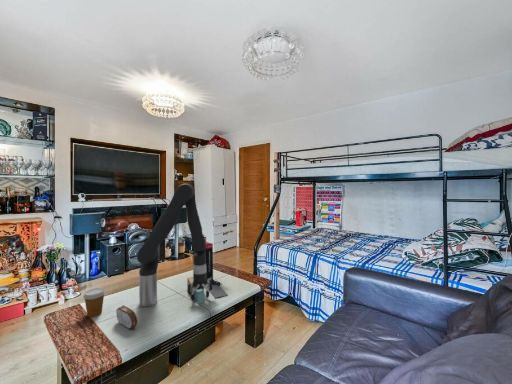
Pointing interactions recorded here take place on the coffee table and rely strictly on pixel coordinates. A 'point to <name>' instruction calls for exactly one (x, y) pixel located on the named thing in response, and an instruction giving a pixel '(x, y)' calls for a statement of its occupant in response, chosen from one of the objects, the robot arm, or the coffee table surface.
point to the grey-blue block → (199, 296)
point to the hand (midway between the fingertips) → (200, 298)
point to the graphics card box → (208, 260)
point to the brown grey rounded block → (126, 317)
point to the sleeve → (190, 280)
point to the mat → (217, 291)
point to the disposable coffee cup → (94, 301)
